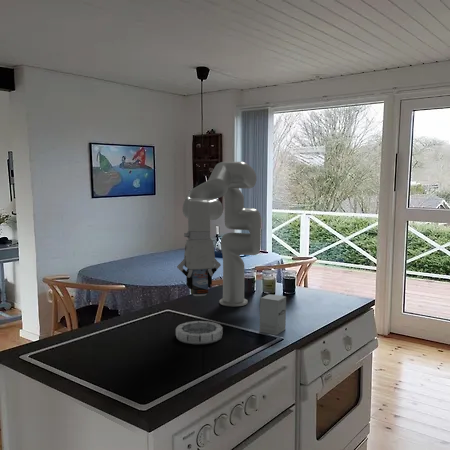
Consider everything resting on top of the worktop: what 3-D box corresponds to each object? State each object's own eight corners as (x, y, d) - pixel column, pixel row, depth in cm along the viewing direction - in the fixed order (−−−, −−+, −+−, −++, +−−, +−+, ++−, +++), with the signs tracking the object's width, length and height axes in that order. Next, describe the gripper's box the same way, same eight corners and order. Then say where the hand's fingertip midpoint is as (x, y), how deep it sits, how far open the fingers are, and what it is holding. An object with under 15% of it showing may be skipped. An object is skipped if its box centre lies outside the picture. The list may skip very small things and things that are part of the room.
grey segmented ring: (171, 331, 165) (171, 323, 165) (213, 327, 171) (213, 319, 170) (182, 346, 150) (182, 337, 150) (228, 341, 156) (228, 332, 155)
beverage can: (195, 299, 154) (195, 264, 153) (186, 294, 161) (186, 260, 160) (212, 297, 157) (212, 262, 156) (203, 292, 164) (202, 259, 163)
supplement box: (277, 335, 162) (278, 300, 161) (258, 331, 166) (259, 297, 164) (286, 329, 168) (286, 296, 167) (268, 326, 172) (268, 293, 171)
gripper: (177, 238, 151) (177, 291, 152) (226, 236, 157) (226, 288, 158) (172, 235, 158) (172, 287, 159) (219, 233, 164) (219, 283, 165)
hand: (199, 286), depth 159 cm, fingers closed on beverage can, 6 cm apart
